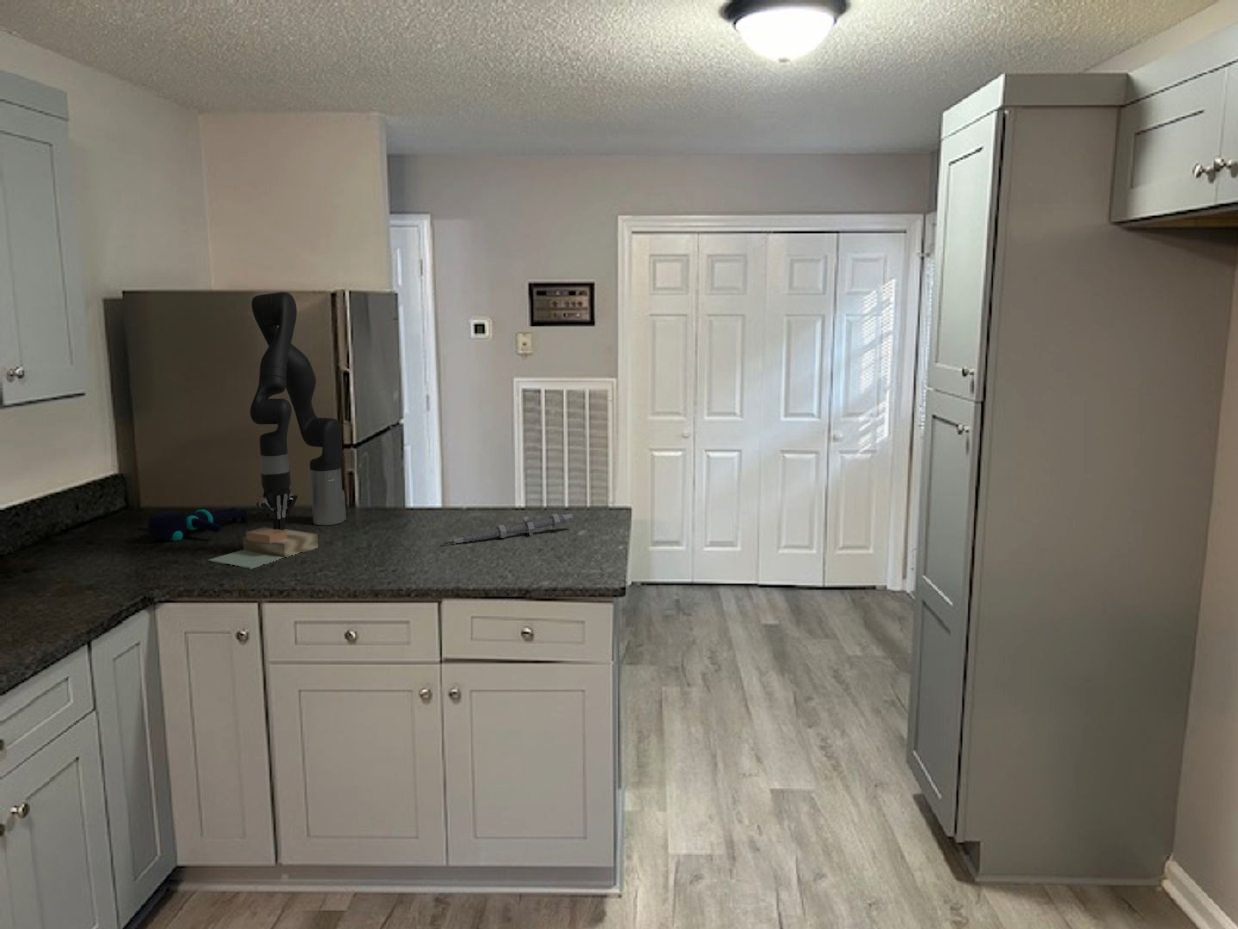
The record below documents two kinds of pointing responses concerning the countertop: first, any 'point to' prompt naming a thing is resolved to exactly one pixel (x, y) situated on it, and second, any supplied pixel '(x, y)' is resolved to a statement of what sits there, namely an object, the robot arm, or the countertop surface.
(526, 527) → the adjustable rod
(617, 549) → the countertop surface
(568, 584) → the countertop surface
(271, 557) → the mat
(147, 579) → the countertop surface
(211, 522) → the toy
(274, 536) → the tile
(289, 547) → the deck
